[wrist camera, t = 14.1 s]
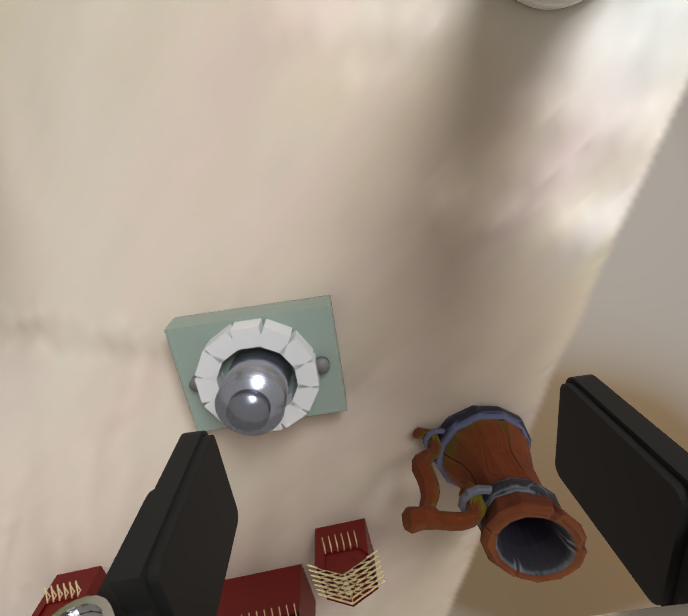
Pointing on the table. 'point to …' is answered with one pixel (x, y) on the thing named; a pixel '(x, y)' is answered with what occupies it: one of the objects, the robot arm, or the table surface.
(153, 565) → the robot arm
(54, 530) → the table surface
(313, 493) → the table surface
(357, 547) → the toy houses
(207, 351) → the block
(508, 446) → the mug
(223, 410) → the hub
